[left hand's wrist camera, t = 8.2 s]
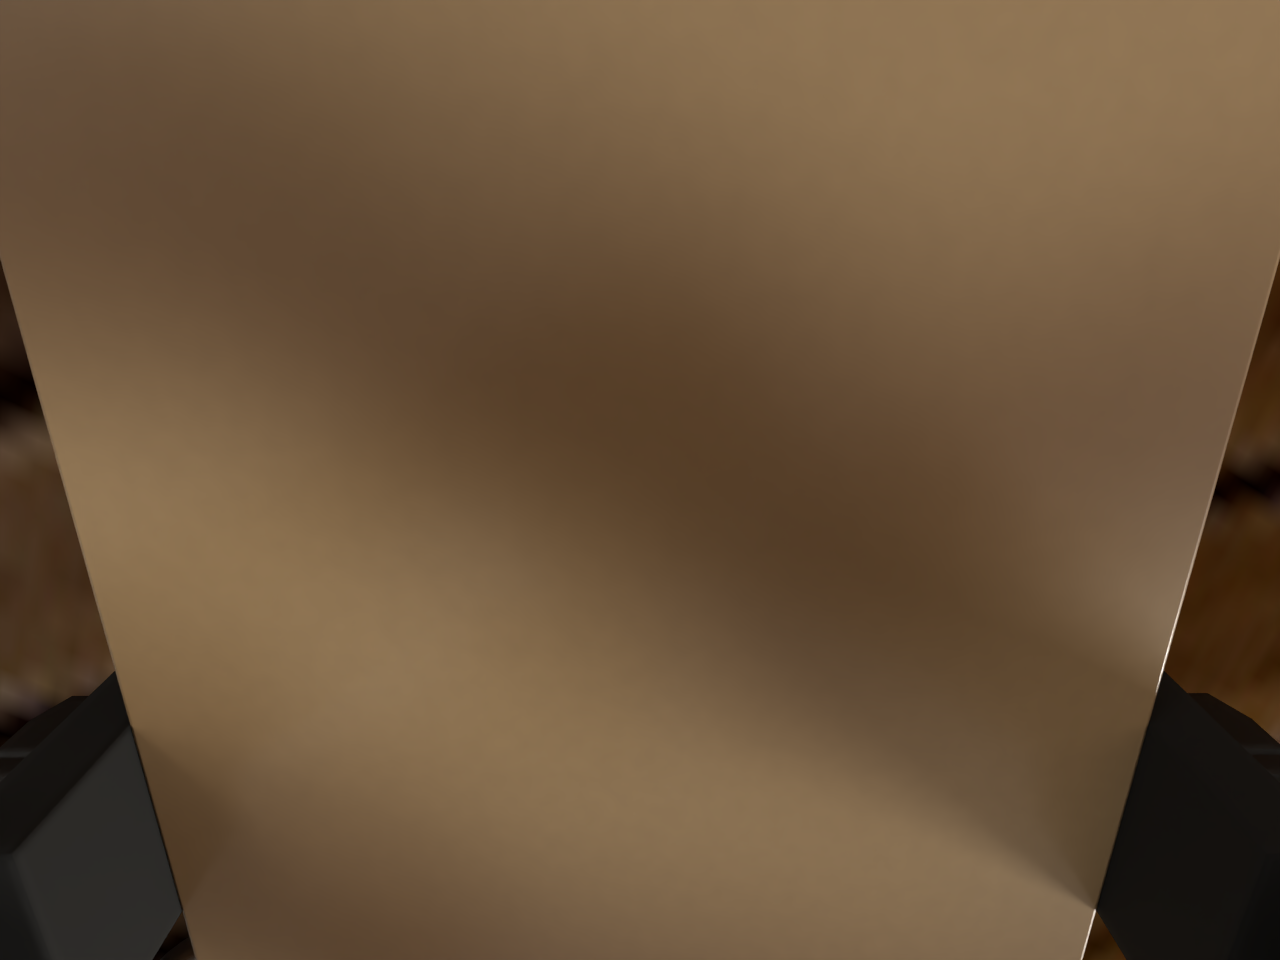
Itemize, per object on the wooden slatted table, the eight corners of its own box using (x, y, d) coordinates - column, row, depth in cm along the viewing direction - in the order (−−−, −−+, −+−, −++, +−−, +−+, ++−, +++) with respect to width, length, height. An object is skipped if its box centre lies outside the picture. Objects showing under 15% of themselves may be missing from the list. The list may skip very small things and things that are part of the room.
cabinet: (317, -356, 14) (-589, -1831, 4) (963, -354, 14) (1874, -1825, 4) (424, 615, 20) (217, 1045, 10) (854, 615, 20) (1060, 1046, 10)
